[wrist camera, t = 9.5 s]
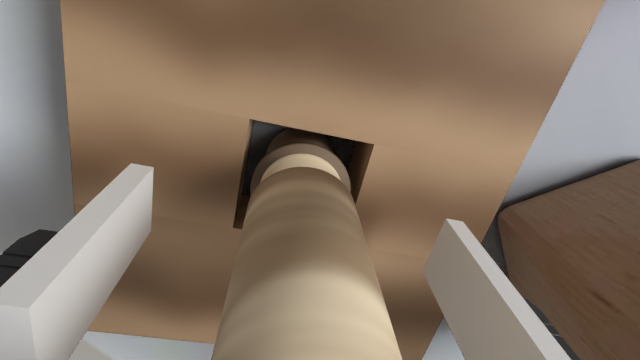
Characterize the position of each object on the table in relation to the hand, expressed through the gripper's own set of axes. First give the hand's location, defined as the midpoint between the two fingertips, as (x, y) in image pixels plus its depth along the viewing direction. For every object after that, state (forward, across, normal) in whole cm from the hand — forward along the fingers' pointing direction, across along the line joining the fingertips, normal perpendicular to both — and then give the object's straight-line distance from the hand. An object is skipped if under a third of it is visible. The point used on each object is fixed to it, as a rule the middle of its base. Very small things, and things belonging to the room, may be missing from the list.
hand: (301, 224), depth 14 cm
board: (+7, 0, 0) cm, 7 cm away
